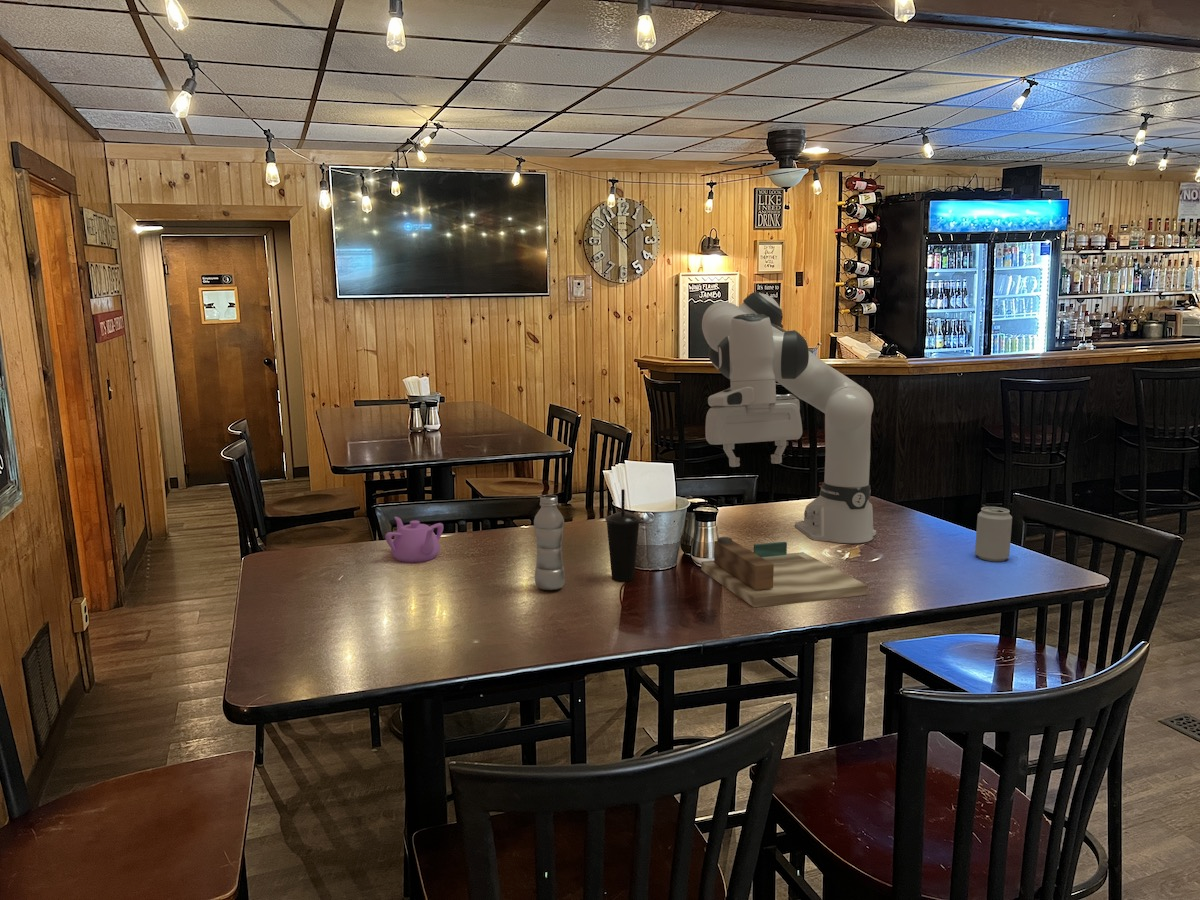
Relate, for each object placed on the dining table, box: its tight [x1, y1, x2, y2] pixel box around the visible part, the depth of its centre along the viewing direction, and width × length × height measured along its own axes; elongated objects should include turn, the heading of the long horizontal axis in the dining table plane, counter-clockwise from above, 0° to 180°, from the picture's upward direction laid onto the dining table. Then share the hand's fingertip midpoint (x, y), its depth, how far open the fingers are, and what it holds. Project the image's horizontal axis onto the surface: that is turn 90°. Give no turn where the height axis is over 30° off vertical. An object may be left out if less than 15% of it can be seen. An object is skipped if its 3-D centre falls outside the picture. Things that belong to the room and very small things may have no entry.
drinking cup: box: [604, 488, 641, 583], centre depth 190 cm, size 8×8×20 cm
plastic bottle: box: [533, 494, 566, 591], centre depth 183 cm, size 6×7×20 cm
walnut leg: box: [713, 536, 774, 590], centre depth 187 cm, size 21×4×6 cm, turn 17°
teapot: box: [384, 516, 444, 564], centre depth 208 cm, size 12×14×9 cm
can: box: [974, 506, 1013, 562], centre depth 206 cm, size 8×8×12 cm
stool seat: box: [700, 541, 869, 608], centre depth 189 cm, size 26×26×5 cm
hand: (755, 465), depth 174 cm, fingers open, 8 cm apart
